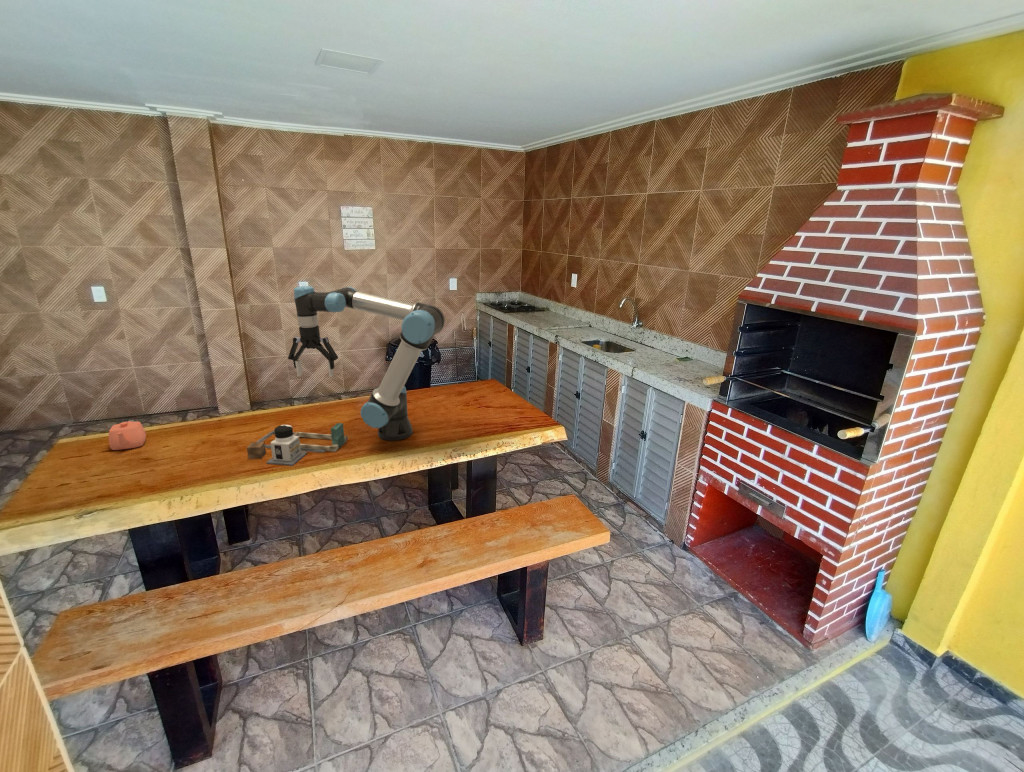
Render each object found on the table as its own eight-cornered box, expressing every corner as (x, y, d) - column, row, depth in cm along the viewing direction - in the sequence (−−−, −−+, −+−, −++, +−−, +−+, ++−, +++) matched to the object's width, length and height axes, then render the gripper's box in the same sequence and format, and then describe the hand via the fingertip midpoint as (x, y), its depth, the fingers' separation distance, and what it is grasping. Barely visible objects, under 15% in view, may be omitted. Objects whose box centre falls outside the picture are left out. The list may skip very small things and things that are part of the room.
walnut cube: (266, 453, 202) (264, 441, 200) (261, 458, 197) (259, 447, 195) (253, 453, 201) (251, 442, 199) (248, 459, 196) (246, 447, 195)
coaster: (307, 453, 202) (307, 451, 202) (292, 465, 192) (292, 464, 191) (282, 451, 203) (282, 449, 203) (266, 463, 193) (266, 462, 193)
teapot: (150, 435, 215) (144, 413, 212) (141, 452, 200) (135, 429, 196) (118, 440, 210) (111, 417, 207) (106, 458, 195) (99, 434, 192)
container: (291, 461, 193) (286, 431, 189) (272, 460, 194) (268, 430, 190) (301, 452, 201) (297, 423, 196) (283, 451, 202) (279, 422, 197)
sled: (347, 439, 214) (346, 420, 211) (335, 451, 203) (333, 431, 200) (297, 436, 217) (295, 417, 214) (282, 447, 206) (279, 427, 203)
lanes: (339, 438, 216) (339, 435, 215) (324, 452, 203) (323, 450, 202) (272, 433, 220) (272, 430, 219) (252, 446, 206) (252, 444, 206)
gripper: (342, 324, 200) (348, 373, 207) (283, 323, 202) (291, 372, 209) (334, 328, 193) (340, 379, 200) (273, 327, 195) (282, 378, 202)
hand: (315, 376), depth 204 cm, fingers open, 13 cm apart
